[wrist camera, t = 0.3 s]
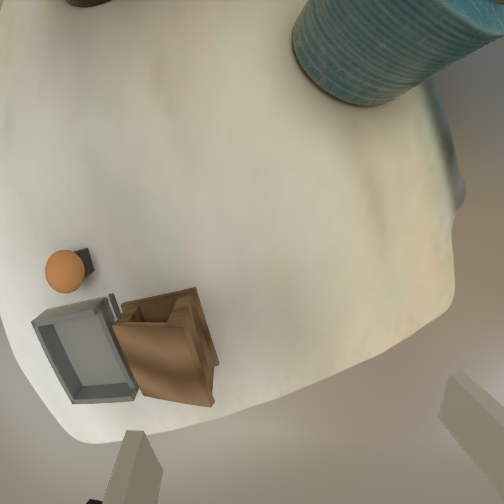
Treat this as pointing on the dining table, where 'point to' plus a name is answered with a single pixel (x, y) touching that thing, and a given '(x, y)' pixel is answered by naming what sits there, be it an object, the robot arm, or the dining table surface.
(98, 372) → the bin
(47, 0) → the dining table surface
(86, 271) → the dark open box
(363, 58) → the vase
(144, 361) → the wooden cubby
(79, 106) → the dining table surface
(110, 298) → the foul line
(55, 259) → the ball
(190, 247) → the dining table surface
